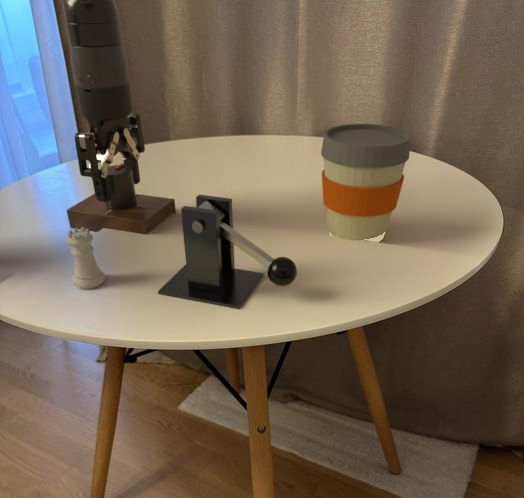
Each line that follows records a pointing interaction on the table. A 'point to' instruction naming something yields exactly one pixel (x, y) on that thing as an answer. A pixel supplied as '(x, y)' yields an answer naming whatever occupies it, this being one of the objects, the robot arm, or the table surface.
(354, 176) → the reusable coffee cup
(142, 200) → the wooden knob base
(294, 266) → the ball knob lever
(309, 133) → the table surface
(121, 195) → the knob
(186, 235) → the black lever stand
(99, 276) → the rook chess piece
